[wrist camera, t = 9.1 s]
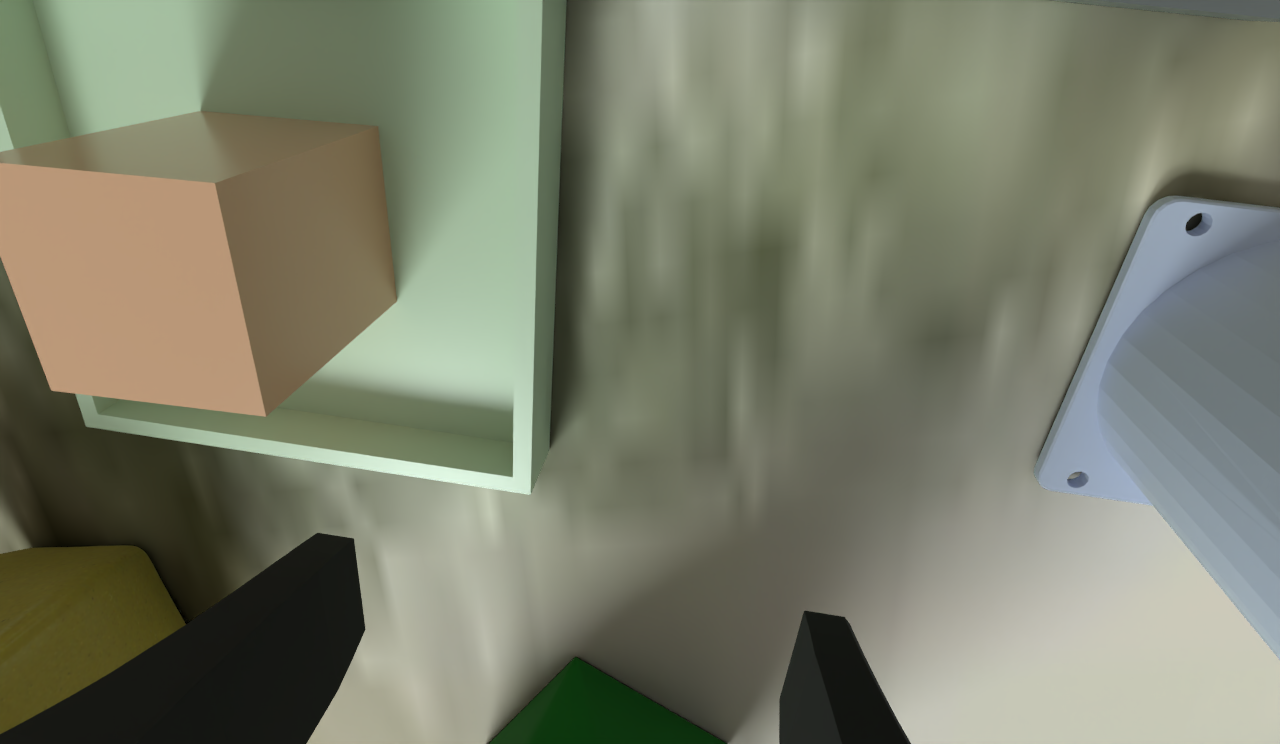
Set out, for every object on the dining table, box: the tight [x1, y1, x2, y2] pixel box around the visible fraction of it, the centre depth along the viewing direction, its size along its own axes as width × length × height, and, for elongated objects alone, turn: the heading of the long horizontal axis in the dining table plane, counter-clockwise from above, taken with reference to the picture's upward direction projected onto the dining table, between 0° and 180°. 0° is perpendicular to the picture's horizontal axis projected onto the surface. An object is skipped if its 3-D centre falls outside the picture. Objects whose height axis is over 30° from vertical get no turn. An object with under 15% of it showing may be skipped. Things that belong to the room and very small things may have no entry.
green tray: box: [0, 0, 567, 495], centre depth 18 cm, size 13×13×2 cm
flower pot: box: [0, 545, 186, 734], centre depth 23 cm, size 9×9×9 cm
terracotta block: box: [0, 111, 397, 417], centre depth 16 cm, size 4×4×6 cm
